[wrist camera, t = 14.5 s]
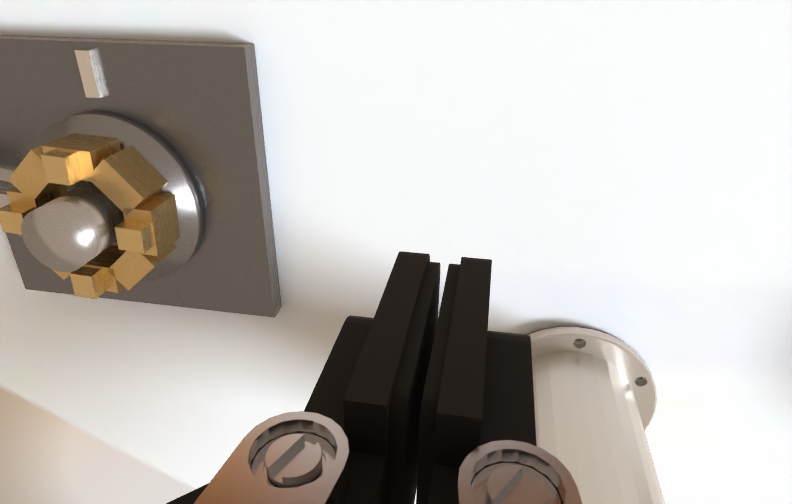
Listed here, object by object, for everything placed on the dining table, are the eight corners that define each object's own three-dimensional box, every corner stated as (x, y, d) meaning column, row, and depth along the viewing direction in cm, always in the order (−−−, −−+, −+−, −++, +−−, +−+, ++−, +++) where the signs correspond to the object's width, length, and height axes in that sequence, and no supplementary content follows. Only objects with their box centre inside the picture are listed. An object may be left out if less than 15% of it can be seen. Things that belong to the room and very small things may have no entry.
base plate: (281, 306, 45) (236, 375, 38) (38, 280, 49) (-47, 338, 41) (254, 43, 36) (187, 66, 28) (-44, 33, 39) (-173, 51, 32)
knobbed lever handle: (170, 143, 37) (130, 165, 33) (188, 277, 42) (155, 309, 38) (-98, 110, 40) (-164, 126, 36) (-52, 239, 45) (-106, 266, 41)
